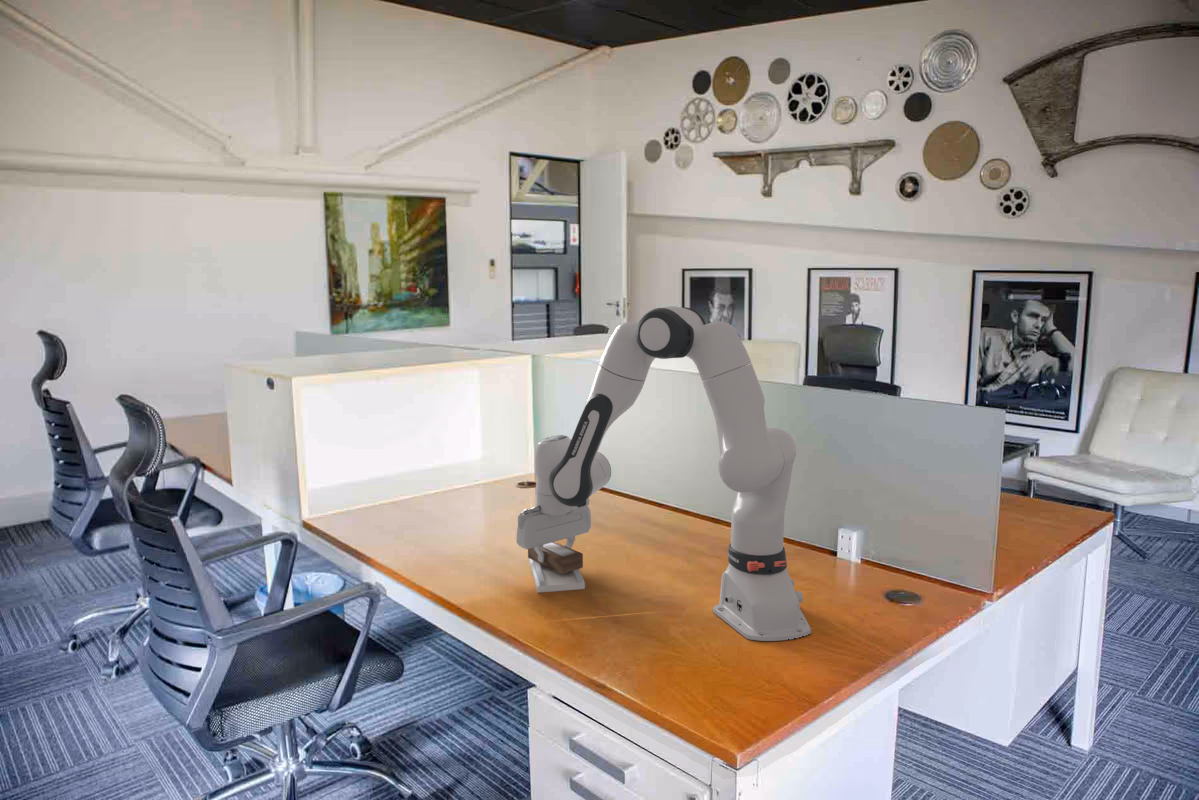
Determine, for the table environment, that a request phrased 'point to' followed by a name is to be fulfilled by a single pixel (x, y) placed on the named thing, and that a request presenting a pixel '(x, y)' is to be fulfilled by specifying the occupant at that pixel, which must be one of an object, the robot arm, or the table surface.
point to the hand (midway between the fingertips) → (554, 557)
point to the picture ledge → (555, 578)
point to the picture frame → (559, 557)
